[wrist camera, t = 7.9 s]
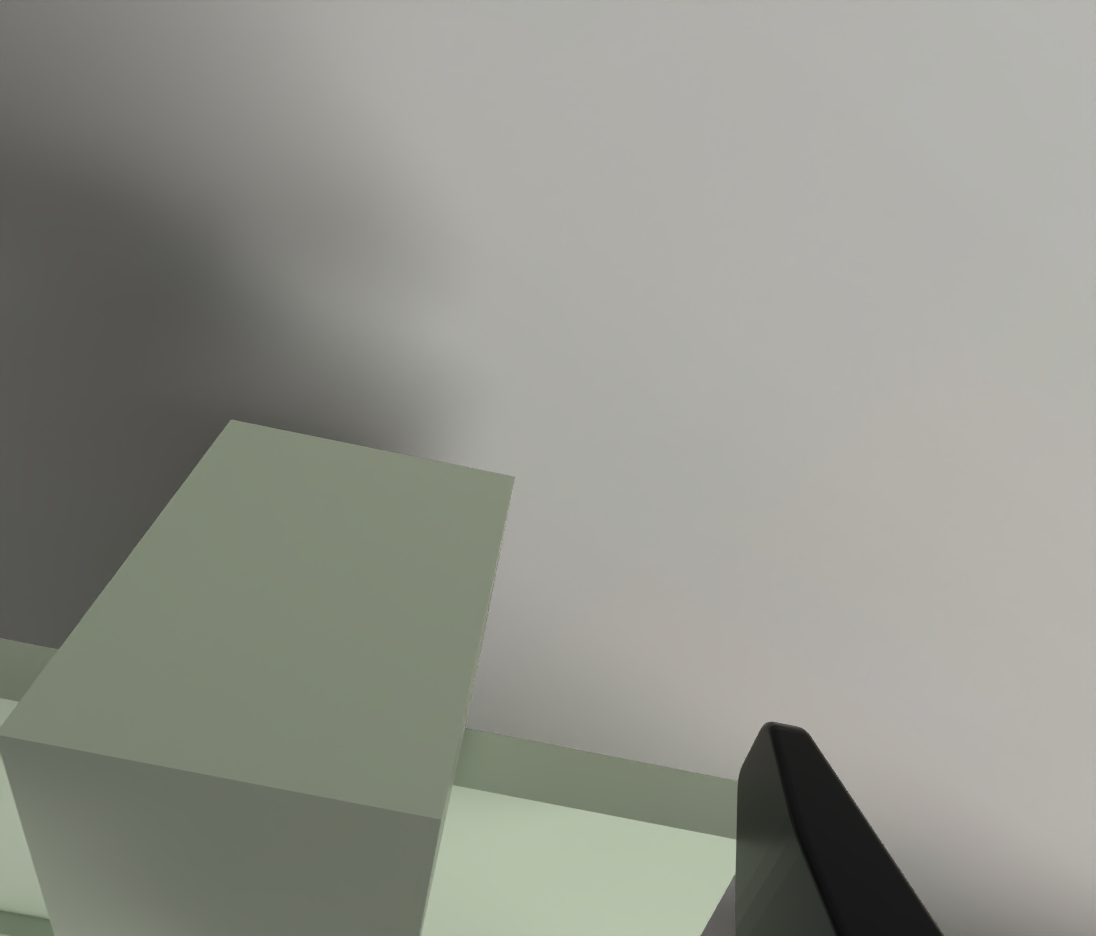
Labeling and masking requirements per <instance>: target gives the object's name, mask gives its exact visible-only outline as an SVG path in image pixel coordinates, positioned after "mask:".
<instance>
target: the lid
mask: <svg viewBox="0 0 1096 936" xmlns="http://www.w3.org/2000/svg"><path fill="white" fill-rule="evenodd" d="M514 479H515V477H513V476H508V475H503V474H498V473H494V472H489V471H484V470H479V469H474V468H469V467H464V466H459V465H454V464H449V463H444V462H439V461H434V460H429V459H424V458H419V457H414V456H410V455H405V454H400V453H395V452H390V451H385V450H380V449H375V448H370V447H365V446H360V445H355V444H350V443H345V442H340V441H335V440H330V439H326V438H321V437H316V436H311V435H306V434H301V433H296V432H291V431H286V430H281V429H276V428H271V427H266V426H261V425H256V424H251V423H246V422H242V421H237V420H232V419H231V420H230V421H229V423H228V424H227V425H226V427H225V428H224V429H223V431H222V432H221V433H220V435H219V436H218V437H217V439H216V440H215V441H214V443H213V444H212V445H211V447H210V448H209V449H208V451H207V452H206V453H205V455H204V456H203V457H202V459H201V460H200V461H199V463H198V464H197V465H196V467H195V468H194V469H193V471H192V472H191V473H190V475H189V476H188V477H187V479H186V480H185V481H184V483H183V484H182V485H181V487H180V488H179V489H178V491H177V492H176V493H175V495H174V496H173V497H172V499H171V500H170V501H169V503H168V504H167V505H166V507H165V508H164V509H163V511H162V512H161V513H160V515H159V516H158V517H157V519H156V520H155V521H154V523H153V524H152V525H151V527H150V528H149V529H148V531H147V532H146V533H145V535H144V536H143V537H142V539H141V540H140V541H139V543H138V544H137V545H136V547H135V548H134V549H133V551H132V552H131V553H130V555H129V556H128V557H127V559H126V560H125V561H124V563H123V564H122V565H121V567H120V568H119V569H118V571H117V572H116V573H115V575H114V576H113V577H112V579H111V580H110V581H109V583H108V584H107V585H106V587H105V588H104V589H103V591H102V592H101V593H100V595H99V596H98V597H97V599H96V600H95V601H94V603H93V604H92V605H91V607H90V608H89V609H88V611H87V612H86V613H85V615H84V616H83V617H82V619H81V620H80V621H79V623H78V624H77V625H76V627H75V628H74V629H73V631H72V632H71V633H70V635H69V636H68V637H67V639H66V640H65V641H64V643H63V644H62V645H61V647H60V648H59V649H55V648H50V647H44V646H39V645H34V644H29V643H24V642H19V641H14V640H8V639H3V638H0V936H700V935H701V934H702V932H703V930H704V928H705V927H706V925H707V923H708V921H709V919H710V918H711V916H712V914H713V912H714V911H715V909H716V907H717V905H718V903H719V902H720V900H721V898H722V896H723V895H724V893H725V891H726V889H727V887H728V886H729V884H730V882H731V880H732V879H733V877H734V875H735V873H736V828H737V787H738V781H734V780H729V779H724V778H719V777H714V776H709V775H704V774H698V773H693V772H688V771H683V770H678V769H673V768H668V767H662V766H657V765H652V764H647V763H642V762H637V761H631V760H626V759H621V758H616V757H611V756H606V755H601V754H595V753H590V752H585V751H580V750H575V749H570V748H565V747H559V746H554V745H549V744H544V743H539V742H534V741H528V740H523V739H518V738H513V737H508V736H503V735H498V734H492V733H487V732H482V731H477V730H472V729H467V728H465V725H466V720H467V715H468V711H469V706H470V701H471V696H472V692H473V687H474V682H475V677H476V672H477V667H478V662H479V657H480V652H481V647H482V642H483V636H484V631H485V626H486V621H487V616H488V611H489V606H490V601H491V596H492V591H493V586H494V581H495V576H496V570H497V565H498V560H499V555H500V550H501V545H502V540H503V535H504V530H505V525H506V520H507V515H508V510H509V504H510V499H511V494H512V489H513V484H514Z"/></svg>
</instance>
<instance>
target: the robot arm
mask: <svg viewBox="0 0 1096 936" xmlns="http://www.w3.org/2000/svg"><path fill="white" fill-rule="evenodd" d="M735 936H944V935H943V933H942V932H941V930H940V929H939V927H938V926H937V924H936V923H935V921H934V920H933V918H932V917H931V915H930V914H929V912H928V911H927V909H926V908H925V906H924V905H923V903H922V902H921V900H920V899H919V897H918V896H917V894H916V893H915V891H914V890H913V888H912V887H911V885H910V884H909V882H908V881H907V879H906V878H905V876H904V875H903V873H902V872H901V870H900V869H899V868H898V866H897V865H896V863H895V862H894V860H893V859H892V857H891V856H890V854H889V853H888V851H887V850H886V848H885V847H884V845H883V844H882V842H881V841H880V839H879V838H878V836H877V835H876V833H875V832H874V830H873V829H872V827H871V826H870V824H869V823H868V821H867V820H866V818H865V817H864V815H863V814H862V812H861V811H860V809H859V808H858V806H857V805H856V803H855V802H854V800H853V799H852V797H851V796H850V794H849V793H848V791H847V790H846V788H845V787H844V785H843V784H842V782H841V781H840V779H839V778H838V776H837V775H836V773H835V772H834V770H833V769H832V767H831V766H830V764H829V763H828V761H827V760H826V758H825V757H824V755H823V754H822V752H821V751H820V749H819V748H818V746H817V745H816V743H815V742H814V740H813V739H812V737H811V736H810V735H809V733H807V732H806V731H805V730H804V729H802V728H800V727H797V726H792V725H787V724H782V723H777V722H768V723H766V724H764V725H763V727H762V728H761V729H760V731H759V733H758V735H757V737H756V739H755V741H754V743H753V745H752V747H751V749H750V751H749V753H748V755H747V757H746V759H745V761H744V763H743V765H742V767H741V770H740V774H739V779H738V787H737V828H736V874H735Z"/></svg>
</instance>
